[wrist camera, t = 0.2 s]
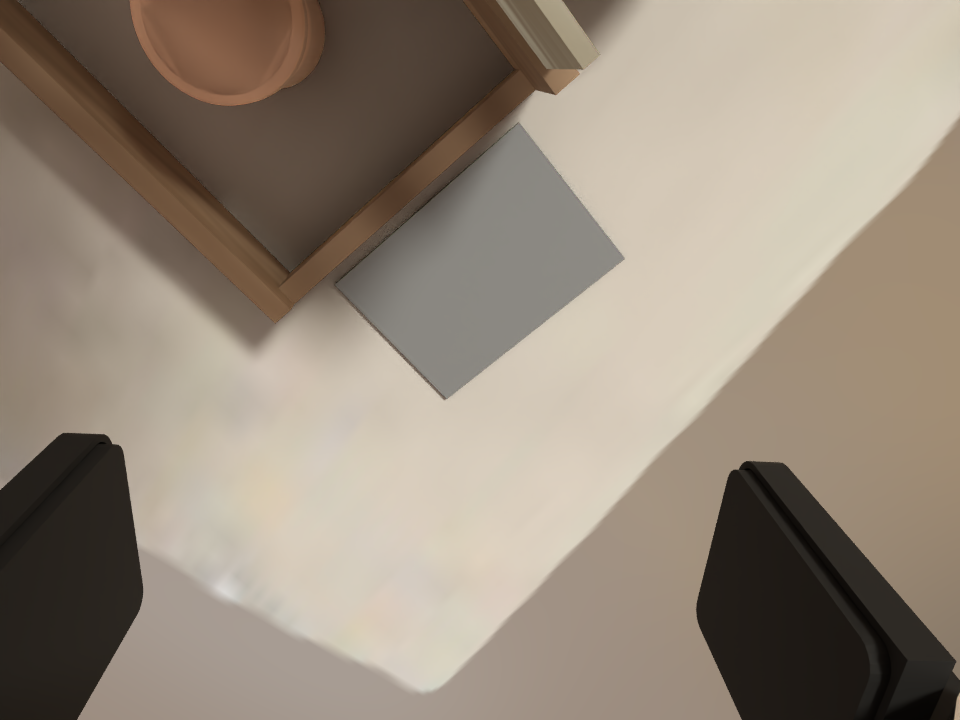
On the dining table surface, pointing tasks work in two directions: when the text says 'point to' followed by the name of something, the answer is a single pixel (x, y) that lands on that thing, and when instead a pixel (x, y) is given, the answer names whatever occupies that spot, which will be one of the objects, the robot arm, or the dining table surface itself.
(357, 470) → the dining table surface
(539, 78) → the box
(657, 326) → the dining table surface
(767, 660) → the robot arm
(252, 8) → the terracotta pot
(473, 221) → the slate mat
